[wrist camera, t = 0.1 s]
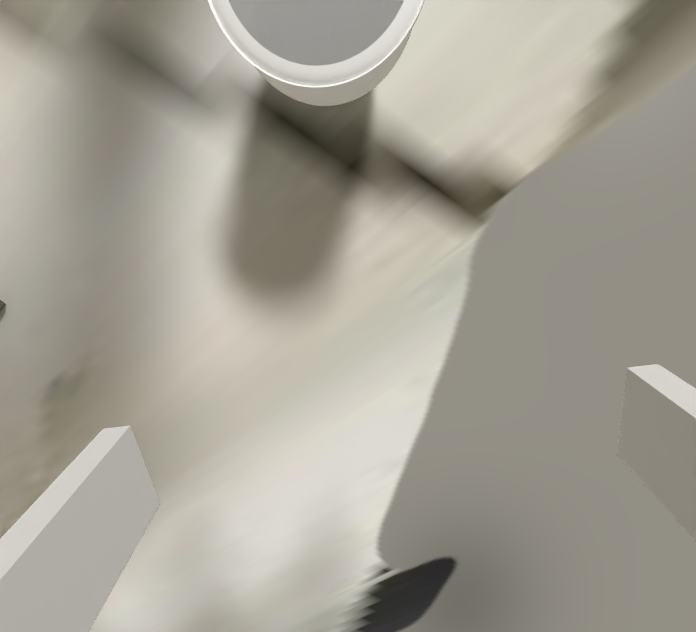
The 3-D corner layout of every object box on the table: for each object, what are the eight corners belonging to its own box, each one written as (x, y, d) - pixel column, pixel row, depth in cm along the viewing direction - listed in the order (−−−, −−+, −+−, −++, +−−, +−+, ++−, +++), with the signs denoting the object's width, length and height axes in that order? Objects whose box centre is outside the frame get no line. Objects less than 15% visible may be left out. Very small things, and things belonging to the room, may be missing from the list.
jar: (323, 147, 34) (305, 136, 20) (235, 37, 32) (144, -64, 18) (425, 53, 32) (485, -34, 18) (339, -75, 29) (330, -296, 15)
